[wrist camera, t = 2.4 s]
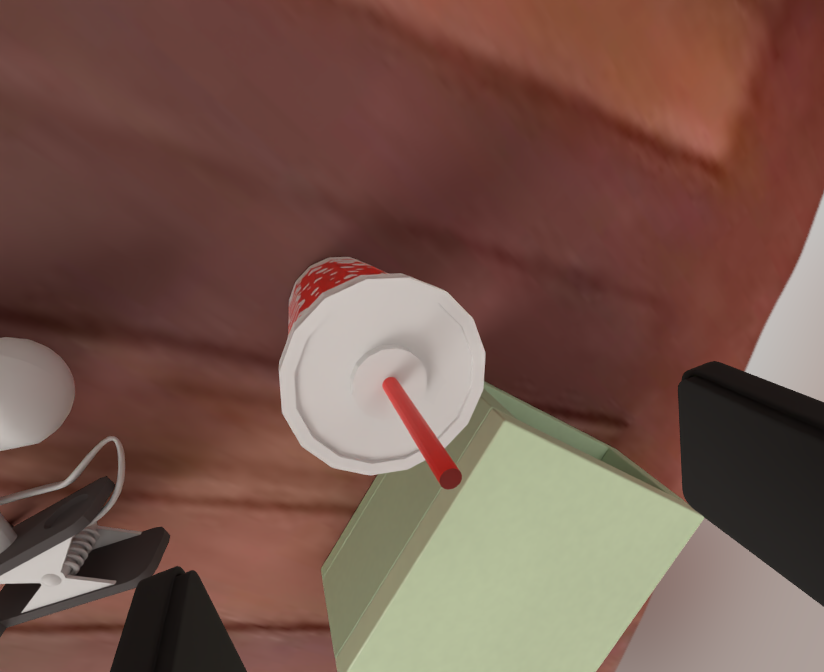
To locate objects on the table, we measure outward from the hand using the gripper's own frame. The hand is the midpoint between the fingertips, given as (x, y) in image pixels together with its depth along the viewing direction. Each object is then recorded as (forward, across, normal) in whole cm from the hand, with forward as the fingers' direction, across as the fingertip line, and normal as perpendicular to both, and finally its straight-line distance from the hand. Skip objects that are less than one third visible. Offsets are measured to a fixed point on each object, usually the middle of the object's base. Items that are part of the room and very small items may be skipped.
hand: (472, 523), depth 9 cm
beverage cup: (+15, 0, -1) cm, 15 cm away
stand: (+15, -4, +13) cm, 20 cm away
